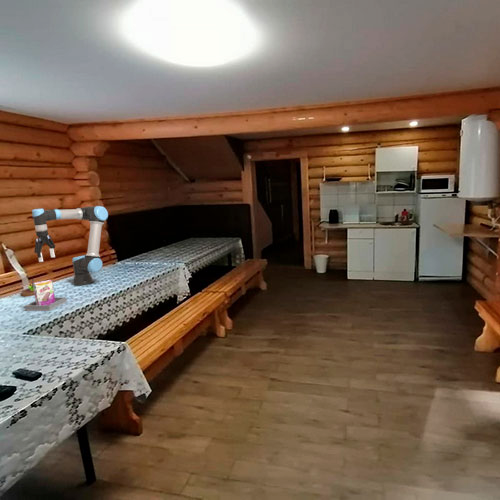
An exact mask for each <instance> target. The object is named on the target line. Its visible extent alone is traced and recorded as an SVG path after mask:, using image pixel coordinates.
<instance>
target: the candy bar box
mask: <svg viewBox="0 0 500 500" xmlns="http://www.w3.org/2000/svg"><path fill="white" fill-rule="evenodd" d="M32 283H33V282H32ZM33 287H34V293H35V295H34V299H35V301H36V305H50V304H52V303H54V302H55V297H56V296H55V291H54V283H53V280H52V279H48V280H42V281H40V282H39V281H37V282H34V283H33Z"/></svg>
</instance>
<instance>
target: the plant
mask: <svg viewBox="0 0 500 500" xmlns="http://www.w3.org/2000/svg"><path fill="white" fill-rule="evenodd" d="M31 281H32V282H31V283H30V285H27V288H25V289H24V290H22V291H21V292H20V293H19V296H20V297H23V298H27V297H33V296H34V297H35V293H34V287H33V283H35V282H34V281H35V279H34V278H32V279H31ZM38 282H41V281H38Z"/></svg>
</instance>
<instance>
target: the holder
mask: <svg viewBox="0 0 500 500" xmlns="http://www.w3.org/2000/svg"><path fill="white" fill-rule="evenodd" d="M67 302H68V301H67V297H66V296H64V297H62V296H60V297H58V296H57V297H56V296H55V302H54V303H52V304H50V305H36V300H35V301H33V302H30V303H28V304H26V305H24V310H25V312H45V311H46V312H50V311H52V310H55V309H56V308H58V307H60V306H62V305H64V304H66V303H67Z"/></svg>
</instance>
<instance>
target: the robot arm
mask: <svg viewBox="0 0 500 500" xmlns="http://www.w3.org/2000/svg"><path fill="white" fill-rule="evenodd" d="M31 213H32V219H33V223H34V228H35V234H36V237H37V238H35V243H34V244H35V246H34V252H33V253H35V254H37V258H38V262H39V263H42V262H44V258H43V254H42V249H43V245H44V244H46V245H47V246H48V247H49V253H50V254H49V255H50V258H56V255H55V249H56V245H55V243H54V241H53V239H52V236H51V235H49V231H48V225H47V222H50V221H56V220H73V219H75V220H81V221H88V222H89V224H90V225H89V226H90V227H89V234H88V235H89V236H88V244H87V253H86V254H85V255H84V254H83V255H78V256H75V257H73V258H71V259H72V260H71V261H72V262H71V263H72V267H73V275H74V277H73V282H72V283H73V284H72V285H74V286H76V287H77V286H78V287H79V286H86V285H90V284H93V283H94V280H93V279H94V278H93V277H92V275H91V273H92V274H93V273H98V272H99V271H101V270H102V268H103V261H102V260H101V255H100V244H101V236H102V229H103V225H104V224H105V221H106V220H108V217H109V212H108V210H107V209H106V207H104V206H102V205H96V206H95V205H94V206H91V205H90V206H83V207H77V208H73V209H72V208H71V209H68V208H66V209H57V208H54V209H44V208H34V209H32V210H31Z"/></svg>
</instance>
